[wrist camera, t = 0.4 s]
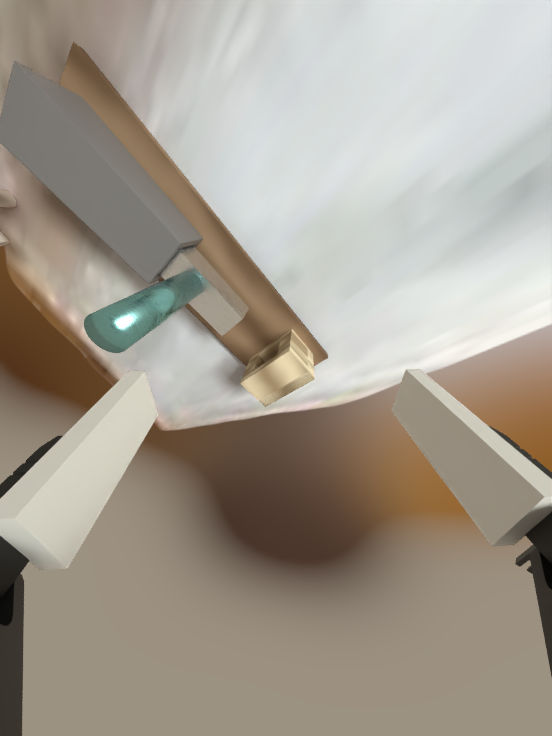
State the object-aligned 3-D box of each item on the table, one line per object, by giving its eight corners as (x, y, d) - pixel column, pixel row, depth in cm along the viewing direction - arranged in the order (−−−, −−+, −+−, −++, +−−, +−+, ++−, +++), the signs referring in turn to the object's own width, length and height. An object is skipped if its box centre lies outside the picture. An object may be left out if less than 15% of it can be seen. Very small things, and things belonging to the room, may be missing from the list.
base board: (83, 49, 22) (73, 41, 21) (327, 353, 37) (327, 357, 36) (44, 160, 27) (33, 158, 26) (272, 386, 42) (271, 390, 41)
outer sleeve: (82, 96, 23) (14, 60, 17) (203, 238, 28) (180, 243, 23) (60, 154, 25) (-5, 137, 20) (175, 272, 31) (148, 283, 26)
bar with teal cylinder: (87, 125, 23) (-293, -31, 8) (249, 308, 32) (202, 386, 17) (72, 160, 25) (-265, 81, 10) (230, 324, 33) (172, 407, 19)
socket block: (291, 328, 34) (289, 350, 28) (313, 353, 36) (314, 379, 30) (249, 358, 38) (240, 383, 32) (270, 380, 40) (265, 406, 34)
